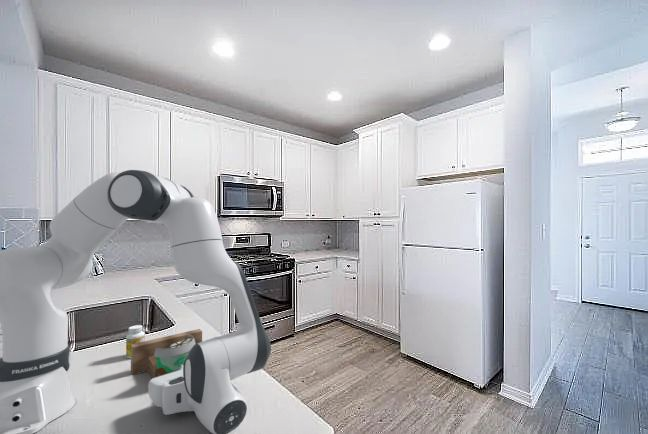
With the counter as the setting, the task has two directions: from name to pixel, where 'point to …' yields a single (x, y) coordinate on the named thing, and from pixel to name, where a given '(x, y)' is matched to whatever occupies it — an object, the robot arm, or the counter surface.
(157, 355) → the food container
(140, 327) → the supplement bottle
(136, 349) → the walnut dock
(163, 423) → the counter surface
